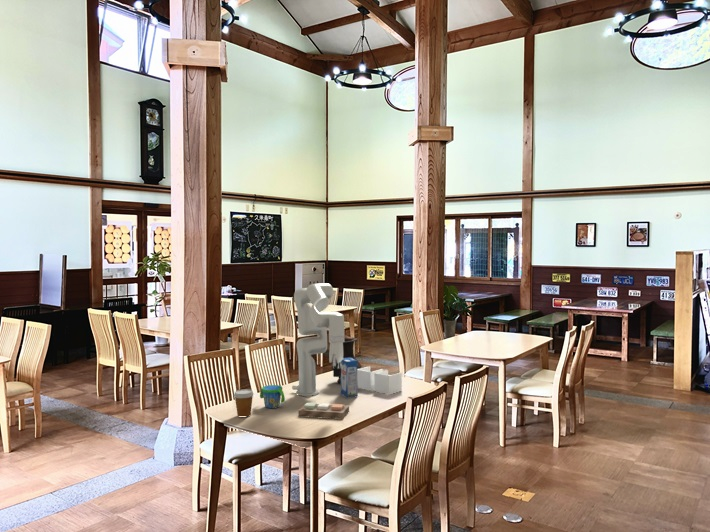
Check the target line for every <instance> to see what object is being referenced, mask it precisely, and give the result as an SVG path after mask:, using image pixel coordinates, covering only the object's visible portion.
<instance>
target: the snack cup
mask: <svg viewBox="0 0 710 532" xmlns="http://www.w3.org/2000/svg"><path fill="white" fill-rule="evenodd" d="M259 397H260V399H263V402H264V408H267V409H276V408H275V407H277V408H279V407H280V405H281V404H282V403H284V402H285V401H286V400H285V399H286V397H285V393H284V391H283V386H281V385H280V384H279V385H278V384H269V385H265V386H262V388H261V389H260V392H259Z"/></svg>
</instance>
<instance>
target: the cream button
mask: <svg viewBox="0 0 710 532" xmlns="http://www.w3.org/2000/svg"><path fill="white" fill-rule="evenodd" d="M318 404H319V405H318V409H321V410H328V409H329V408H330V405H331V403H326V402H325V403H324V402H323V403H318Z"/></svg>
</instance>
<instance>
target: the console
mask: <svg viewBox="0 0 710 532" xmlns="http://www.w3.org/2000/svg"><path fill="white" fill-rule="evenodd" d="M319 404H320V403H317V407H316V408H315V409H306V408H304V405H302V406H301V407H300V408H299V409H298V411H297V414H298V417H301V416H309V417H308V418H318V417H322V419H335V418H336V419H335V420H338V419H339V420H344V419H345V418H346V416H347V415H348V412H349V413H350V406H349V405H345V404H344V409H343V410H342V411H339V410H331V407H332V406H333V405H334V404H330V408H329V409H328V410H321V409H318V405H319Z"/></svg>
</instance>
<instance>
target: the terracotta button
mask: <svg viewBox="0 0 710 532" xmlns="http://www.w3.org/2000/svg"><path fill="white" fill-rule="evenodd" d="M332 405H333V406H332V407H331V410H339V411H342V410H343V409H344V405H345V404H339V403H334V404H332Z"/></svg>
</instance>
